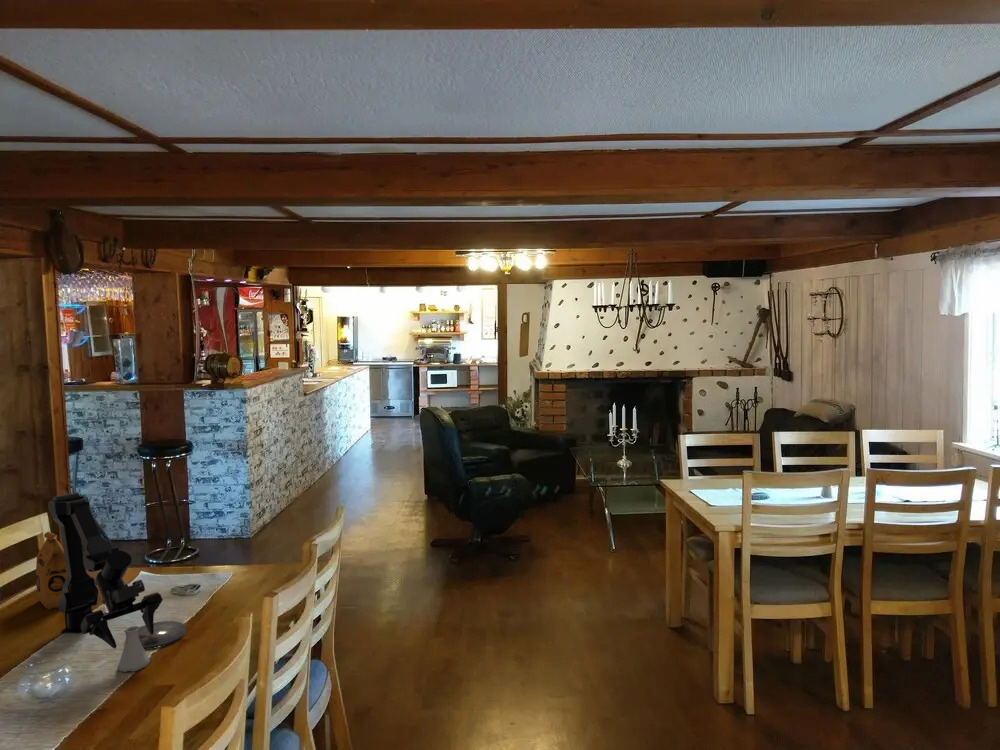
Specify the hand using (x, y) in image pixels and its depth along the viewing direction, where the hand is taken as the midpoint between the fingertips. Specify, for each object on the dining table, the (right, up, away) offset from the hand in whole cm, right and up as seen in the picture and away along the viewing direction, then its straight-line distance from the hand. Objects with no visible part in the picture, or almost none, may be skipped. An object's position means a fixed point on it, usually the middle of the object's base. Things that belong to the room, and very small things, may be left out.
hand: (134, 640), depth 177 cm
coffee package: (-48, -4, +42) cm, 64 cm away
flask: (-1, -7, +1) cm, 7 cm away
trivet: (-3, -6, +18) cm, 19 cm away
